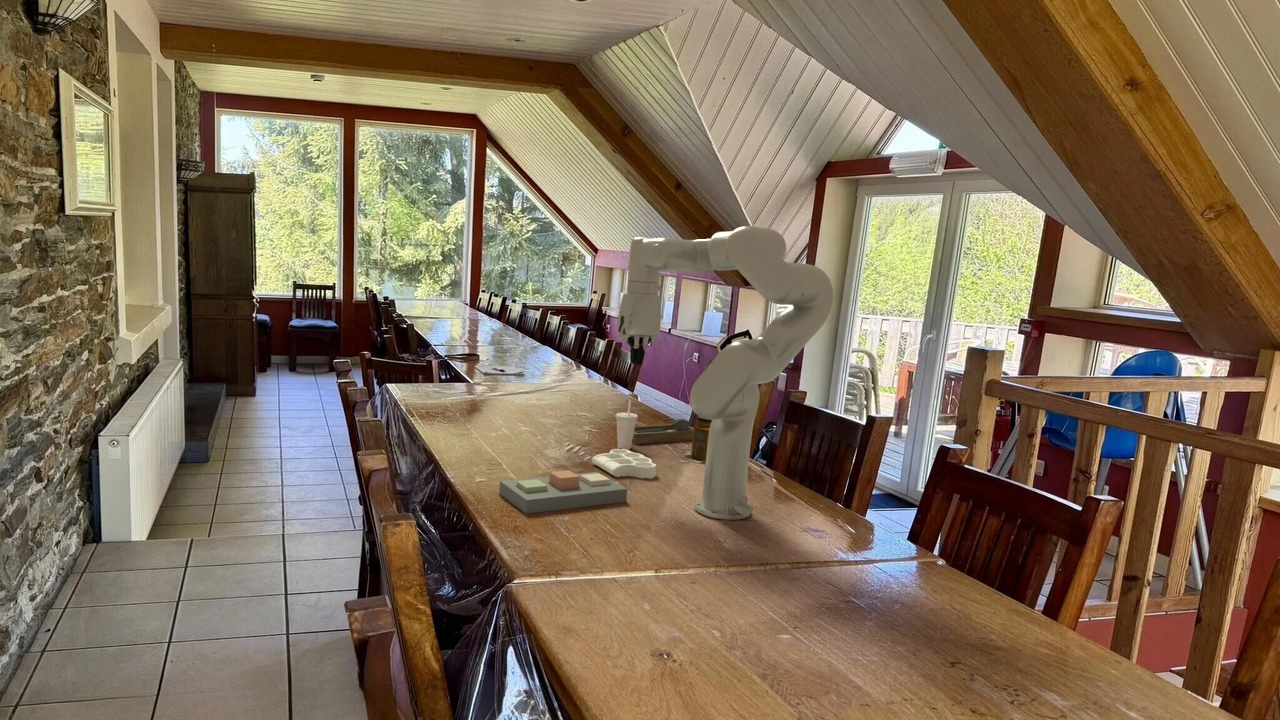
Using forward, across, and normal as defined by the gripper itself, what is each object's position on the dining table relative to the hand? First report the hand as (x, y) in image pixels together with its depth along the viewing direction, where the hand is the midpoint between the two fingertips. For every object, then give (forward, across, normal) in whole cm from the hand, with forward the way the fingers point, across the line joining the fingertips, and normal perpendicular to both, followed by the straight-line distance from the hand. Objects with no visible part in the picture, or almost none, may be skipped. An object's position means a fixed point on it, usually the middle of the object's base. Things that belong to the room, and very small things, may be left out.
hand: (636, 363), depth 196 cm
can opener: (+30, -33, -33) cm, 55 cm away
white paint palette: (+30, -5, -8) cm, 31 cm away
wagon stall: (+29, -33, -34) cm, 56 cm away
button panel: (+29, +22, +8) cm, 37 cm away
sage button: (+29, +30, +8) cm, 42 cm away
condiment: (+29, -31, -11) cm, 44 cm away
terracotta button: (+28, +22, +8) cm, 36 cm away
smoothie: (+29, -16, -27) cm, 43 cm away
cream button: (+29, +14, +8) cm, 33 cm away
